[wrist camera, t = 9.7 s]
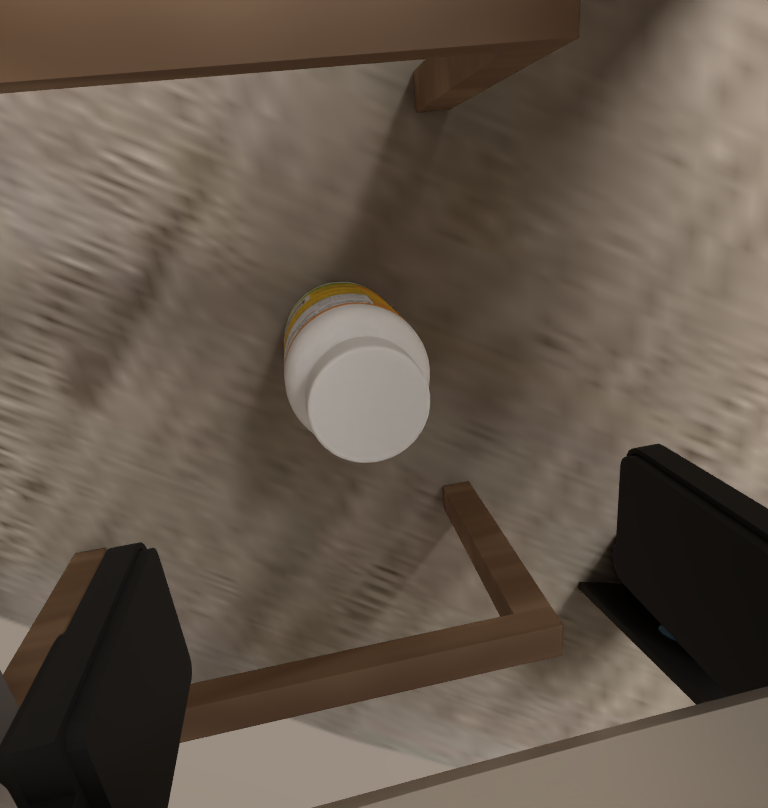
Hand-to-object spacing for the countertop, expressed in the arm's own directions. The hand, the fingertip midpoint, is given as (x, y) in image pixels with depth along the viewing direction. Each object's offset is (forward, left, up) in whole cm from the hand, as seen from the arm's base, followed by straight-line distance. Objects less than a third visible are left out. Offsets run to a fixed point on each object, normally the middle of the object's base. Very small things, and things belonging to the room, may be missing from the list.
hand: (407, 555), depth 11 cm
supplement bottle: (0, 0, -17) cm, 17 cm away
